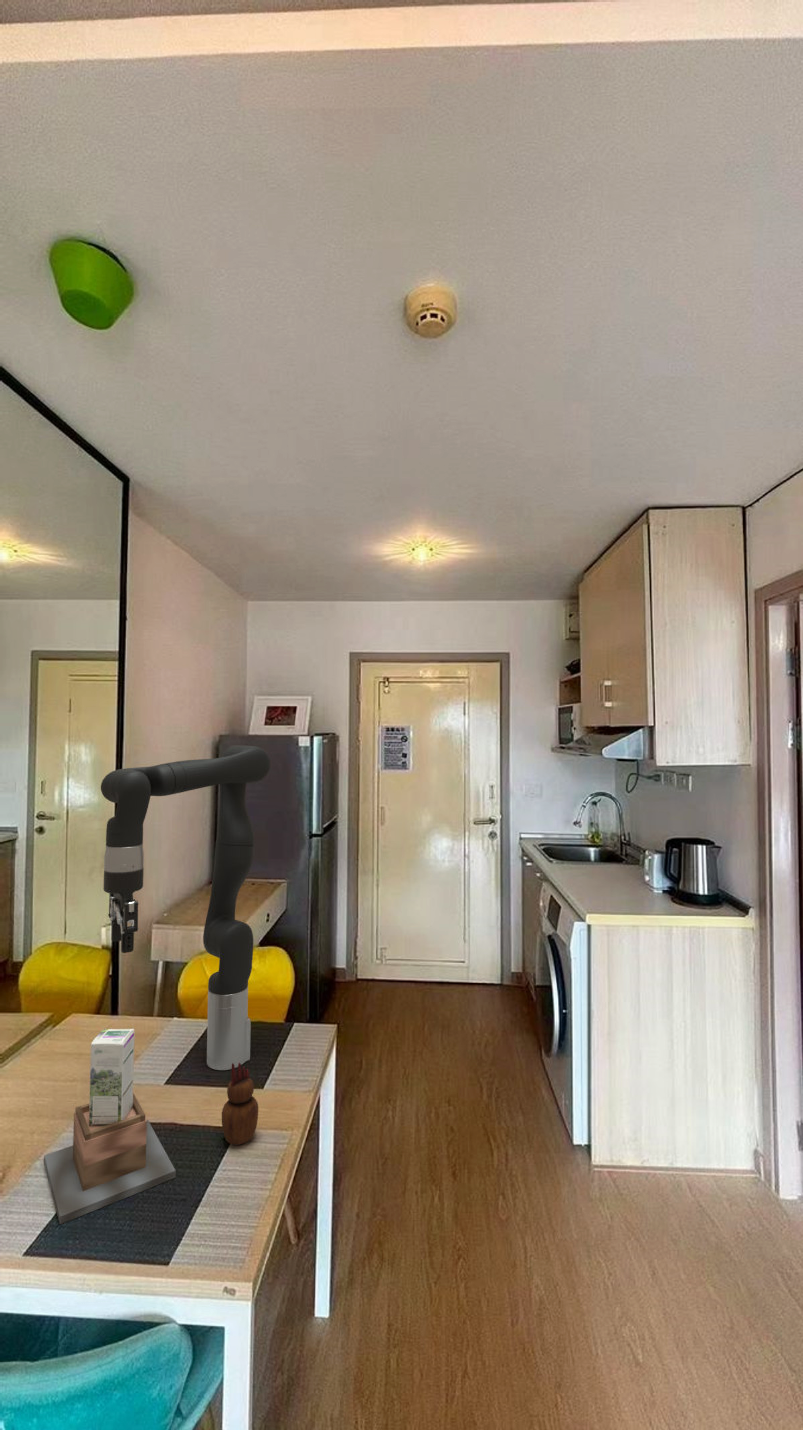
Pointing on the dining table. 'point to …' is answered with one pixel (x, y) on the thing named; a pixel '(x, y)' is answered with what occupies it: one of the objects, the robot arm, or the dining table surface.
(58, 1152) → the tower base
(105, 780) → the robot arm
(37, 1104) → the dining table surface
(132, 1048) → the syrup box
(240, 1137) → the wooden figurine
